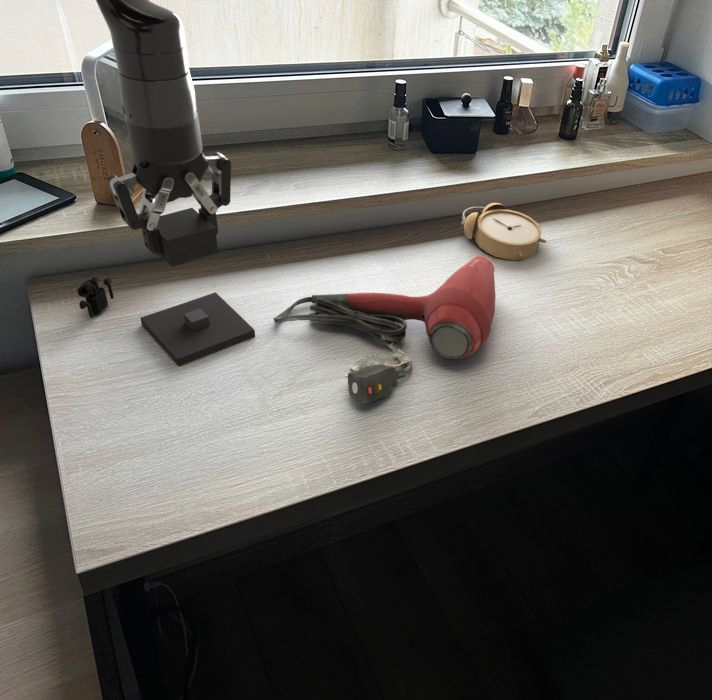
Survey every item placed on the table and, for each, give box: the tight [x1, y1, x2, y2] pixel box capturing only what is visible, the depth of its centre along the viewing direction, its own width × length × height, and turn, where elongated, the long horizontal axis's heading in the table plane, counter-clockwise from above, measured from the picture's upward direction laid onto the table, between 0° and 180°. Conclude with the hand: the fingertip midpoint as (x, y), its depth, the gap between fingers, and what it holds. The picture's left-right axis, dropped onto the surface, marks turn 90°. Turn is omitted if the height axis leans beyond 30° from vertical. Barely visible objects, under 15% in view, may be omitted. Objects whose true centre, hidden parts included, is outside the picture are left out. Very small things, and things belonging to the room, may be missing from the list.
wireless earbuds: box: [77, 276, 115, 319], centre depth 99 cm, size 7×2×5 cm, turn 170°
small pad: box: [157, 207, 219, 268], centre depth 89 cm, size 6×6×4 cm
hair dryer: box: [272, 255, 497, 404], centre depth 101 cm, size 33×25×9 cm
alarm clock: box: [461, 202, 547, 261], centre depth 125 cm, size 11×5×15 cm
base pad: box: [140, 292, 256, 367], centre depth 98 cm, size 11×11×3 cm
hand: (183, 244), depth 89 cm, fingers closed on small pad, 6 cm apart
